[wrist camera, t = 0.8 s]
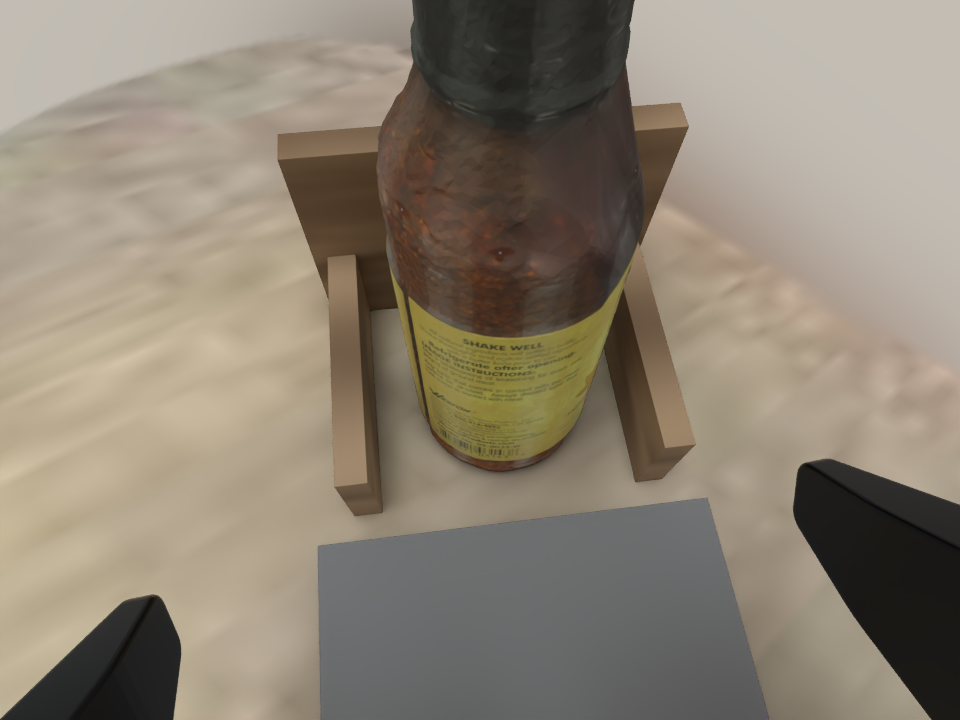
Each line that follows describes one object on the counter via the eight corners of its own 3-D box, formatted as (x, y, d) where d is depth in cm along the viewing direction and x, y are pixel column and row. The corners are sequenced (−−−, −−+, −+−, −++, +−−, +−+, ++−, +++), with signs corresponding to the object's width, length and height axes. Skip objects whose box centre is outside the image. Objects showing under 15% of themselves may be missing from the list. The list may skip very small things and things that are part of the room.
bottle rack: (674, 477, 24) (778, 378, 16) (340, 517, 23) (274, 434, 15) (619, 265, 28) (680, 102, 20) (332, 293, 28) (278, 134, 19)
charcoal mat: (794, 826, 20) (800, 829, 19) (326, 903, 19) (324, 907, 18) (703, 500, 24) (707, 497, 24) (319, 547, 23) (317, 546, 23)
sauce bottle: (609, 425, 25) (958, -183, 7) (470, 509, 24) (485, -1, 6) (517, 300, 28) (613, -391, 10) (386, 368, 26) (214, -300, 8)
